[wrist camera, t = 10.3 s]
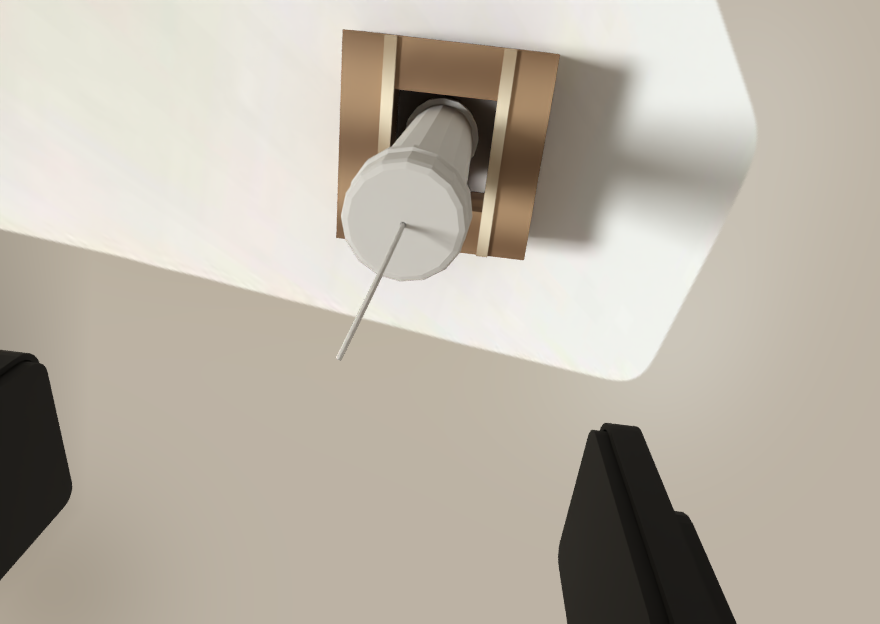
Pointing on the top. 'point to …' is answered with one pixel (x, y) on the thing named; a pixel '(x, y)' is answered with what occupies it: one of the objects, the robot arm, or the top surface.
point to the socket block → (457, 74)
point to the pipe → (413, 199)
